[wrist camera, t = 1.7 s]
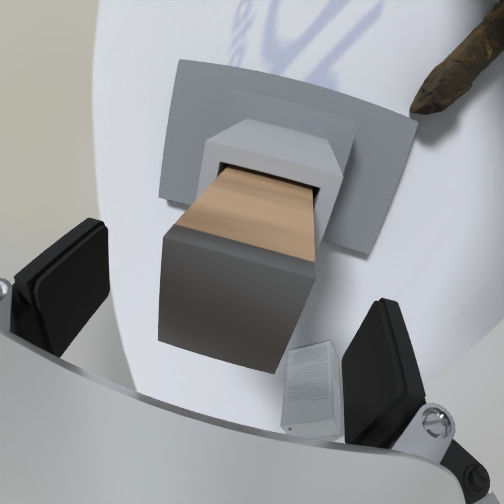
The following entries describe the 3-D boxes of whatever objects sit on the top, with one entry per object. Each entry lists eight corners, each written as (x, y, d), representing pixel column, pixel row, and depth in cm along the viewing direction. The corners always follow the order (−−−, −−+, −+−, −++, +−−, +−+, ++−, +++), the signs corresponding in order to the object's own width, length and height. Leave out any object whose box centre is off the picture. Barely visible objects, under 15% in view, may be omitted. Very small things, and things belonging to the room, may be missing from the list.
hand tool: (497, -4, 15) (519, -11, 11) (519, 27, 16) (543, 24, 12) (389, 88, 24) (403, 88, 20) (416, 120, 25) (434, 126, 21)
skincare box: (298, 368, 42) (291, 442, 32) (287, 349, 41) (278, 426, 30) (340, 359, 40) (342, 435, 30) (332, 338, 39) (333, 417, 28)
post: (256, 135, 22) (162, 235, 8) (310, 150, 22) (316, 278, 8) (245, 185, 24) (157, 340, 10) (296, 199, 24) (274, 374, 10)
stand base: (185, 60, 25) (76, 49, 12) (413, 120, 25) (508, 160, 11) (164, 192, 32) (74, 274, 19) (366, 247, 32) (398, 364, 18)
